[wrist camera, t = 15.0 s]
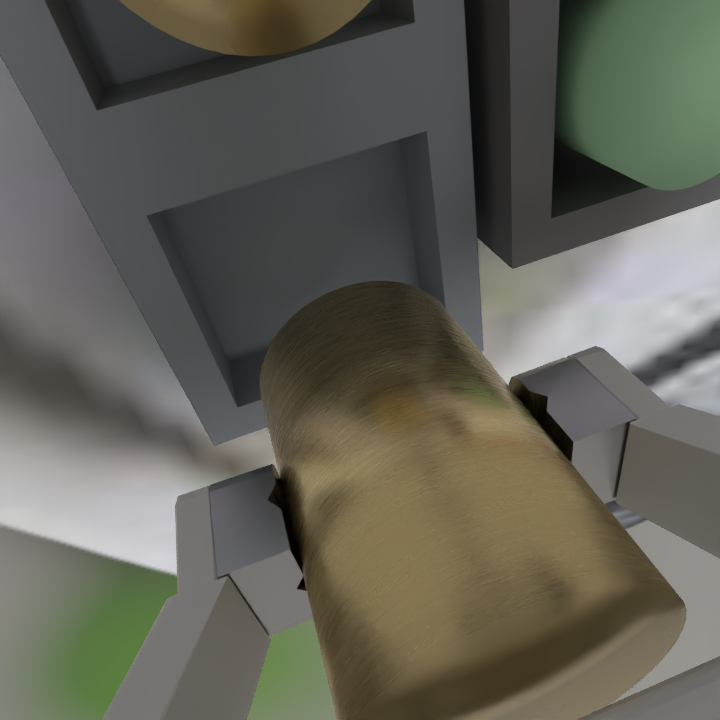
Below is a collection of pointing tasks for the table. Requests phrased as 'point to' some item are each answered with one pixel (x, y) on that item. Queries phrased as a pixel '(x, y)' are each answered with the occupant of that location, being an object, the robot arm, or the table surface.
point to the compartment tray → (258, 173)
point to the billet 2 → (447, 525)
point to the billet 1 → (248, 22)
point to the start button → (641, 87)
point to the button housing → (541, 146)
